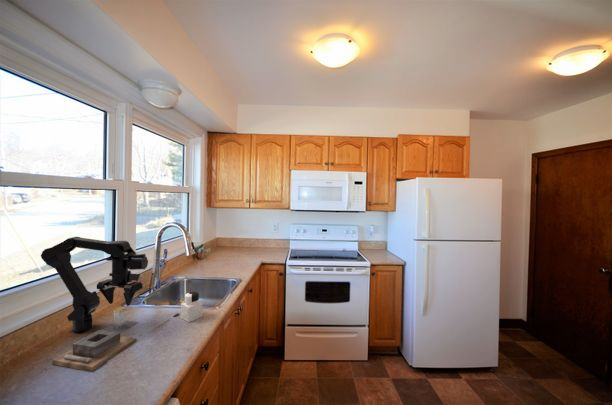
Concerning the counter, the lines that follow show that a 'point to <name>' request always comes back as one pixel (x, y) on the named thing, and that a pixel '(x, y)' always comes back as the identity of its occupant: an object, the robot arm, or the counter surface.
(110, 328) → the key mat
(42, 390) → the counter surface
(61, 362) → the stand
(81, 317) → the robot arm
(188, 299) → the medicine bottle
